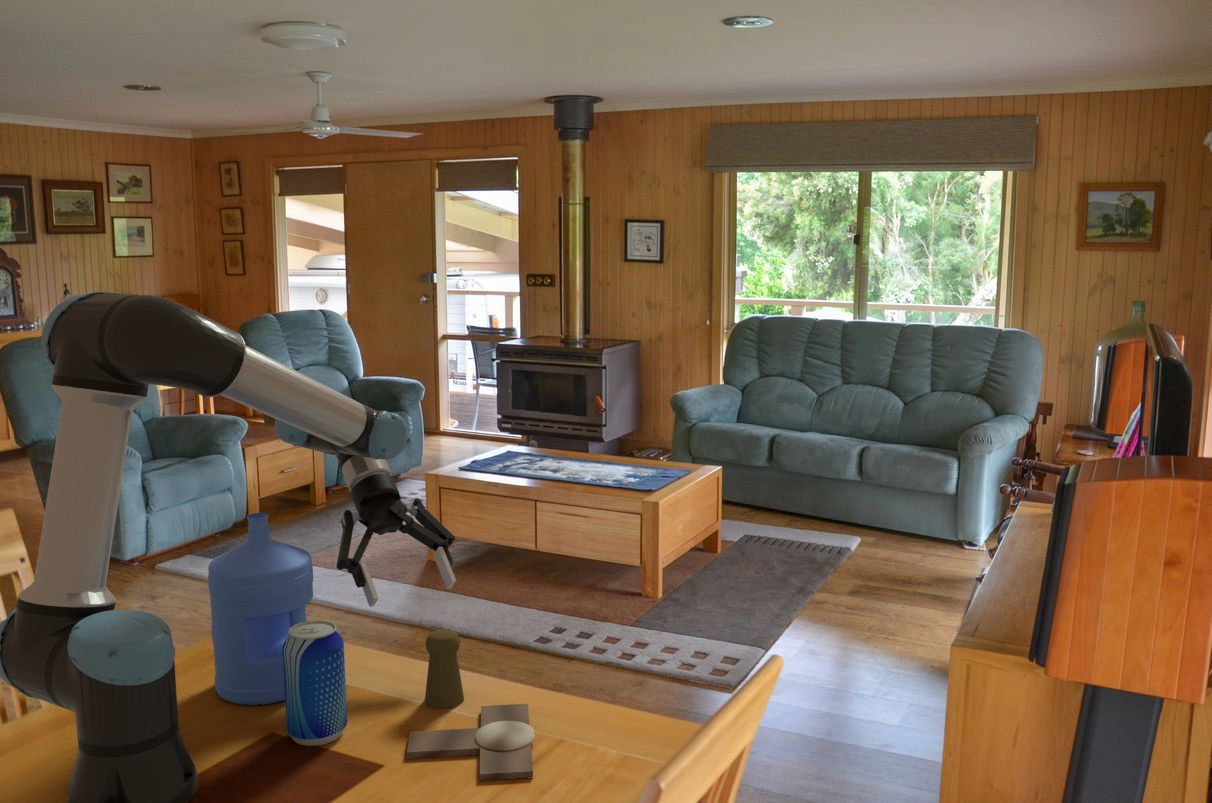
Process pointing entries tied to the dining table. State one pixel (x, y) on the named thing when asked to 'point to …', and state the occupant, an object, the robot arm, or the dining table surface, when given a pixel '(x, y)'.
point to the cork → (443, 670)
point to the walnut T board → (484, 743)
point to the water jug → (256, 613)
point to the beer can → (314, 683)
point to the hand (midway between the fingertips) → (413, 593)
